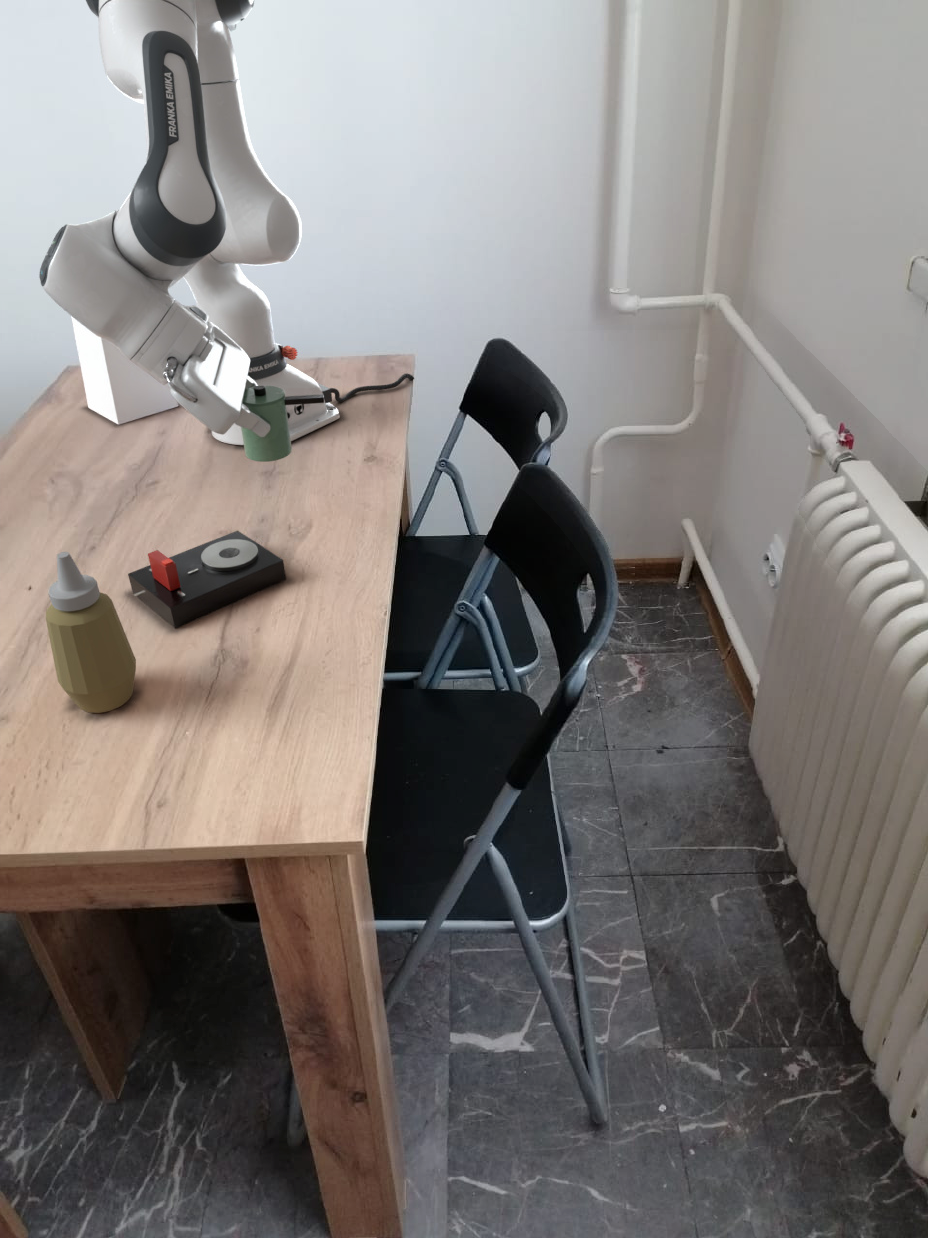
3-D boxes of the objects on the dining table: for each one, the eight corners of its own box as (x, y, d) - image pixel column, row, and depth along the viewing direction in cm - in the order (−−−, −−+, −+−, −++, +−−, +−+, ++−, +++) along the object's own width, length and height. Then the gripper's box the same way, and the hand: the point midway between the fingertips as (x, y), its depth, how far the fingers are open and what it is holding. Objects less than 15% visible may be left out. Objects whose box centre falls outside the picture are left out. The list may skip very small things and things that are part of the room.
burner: (239, 537, 126) (238, 533, 125) (269, 557, 121) (268, 552, 121) (191, 556, 122) (190, 552, 121) (220, 577, 117) (219, 573, 117)
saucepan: (297, 430, 124) (290, 368, 119) (333, 448, 120) (326, 383, 115) (236, 451, 119) (225, 387, 114) (270, 471, 114) (260, 404, 109)
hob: (240, 549, 129) (237, 529, 127) (286, 579, 122) (283, 558, 120) (119, 599, 119) (113, 578, 117) (161, 635, 112) (155, 613, 110)
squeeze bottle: (77, 677, 106) (33, 536, 96) (150, 672, 106) (114, 532, 96) (57, 723, 99) (7, 578, 89) (135, 718, 100) (94, 573, 89)
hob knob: (153, 577, 117) (146, 551, 115) (163, 573, 118) (157, 547, 116) (170, 591, 115) (164, 565, 112) (181, 587, 115) (175, 561, 113)
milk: (147, 390, 180) (117, 248, 165) (178, 405, 173) (149, 258, 158) (88, 407, 173) (51, 260, 158) (118, 424, 166) (82, 272, 152)
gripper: (178, 355, 101) (281, 435, 107) (199, 301, 117) (287, 372, 124) (144, 398, 103) (247, 473, 109) (169, 338, 119) (258, 407, 126)
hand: (269, 419), depth 117 cm, fingers closed on saucepan, 6 cm apart
